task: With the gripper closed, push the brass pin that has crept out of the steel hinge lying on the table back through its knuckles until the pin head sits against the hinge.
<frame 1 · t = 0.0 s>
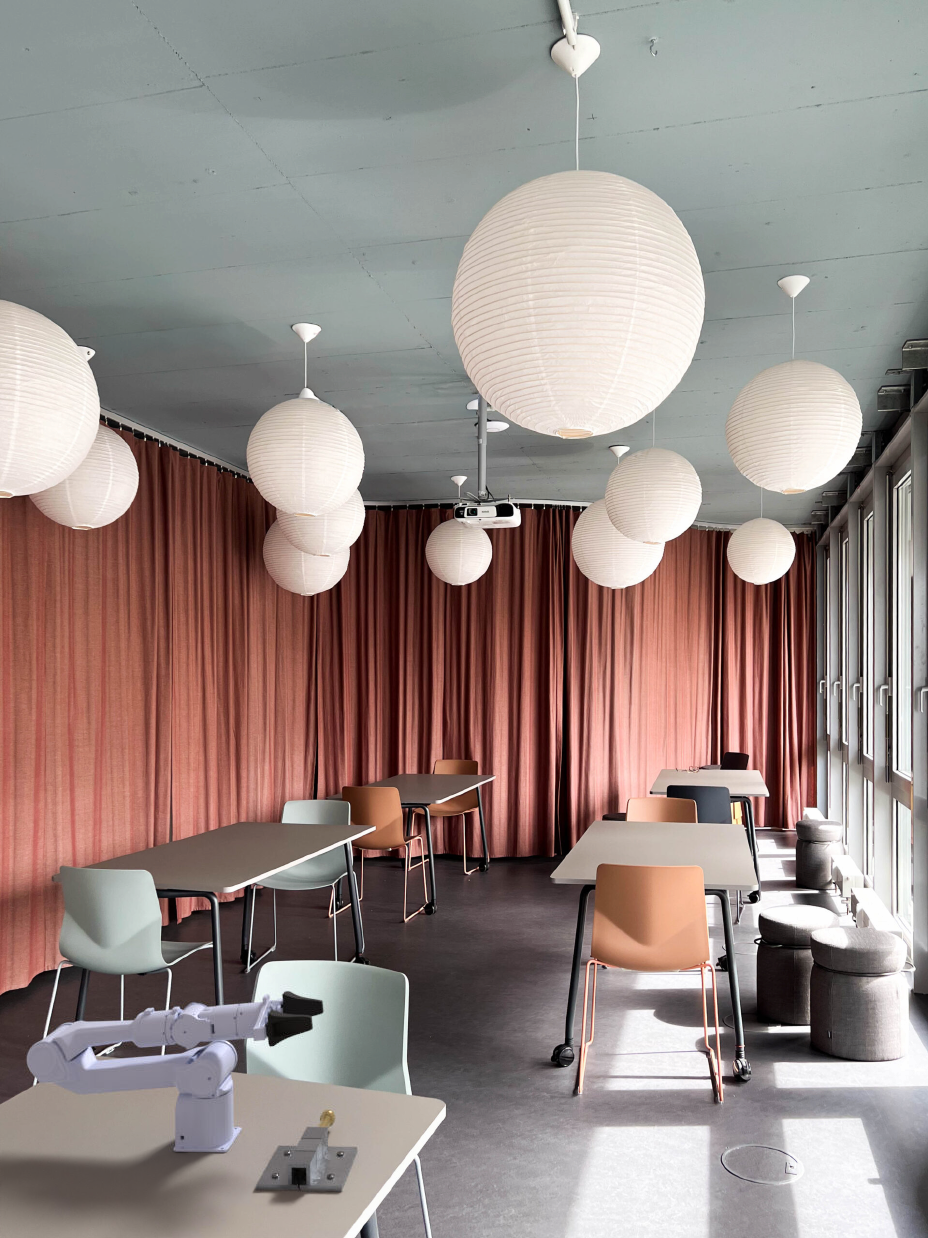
hand: (317, 1014, 160), 22 cm above the table, tool horizontal, fingers open, 7 cm apart
pin: (318, 1136, 157), point 2 cm above the table, slide at 6.0 cm
hinge: (308, 1170, 150), on the table
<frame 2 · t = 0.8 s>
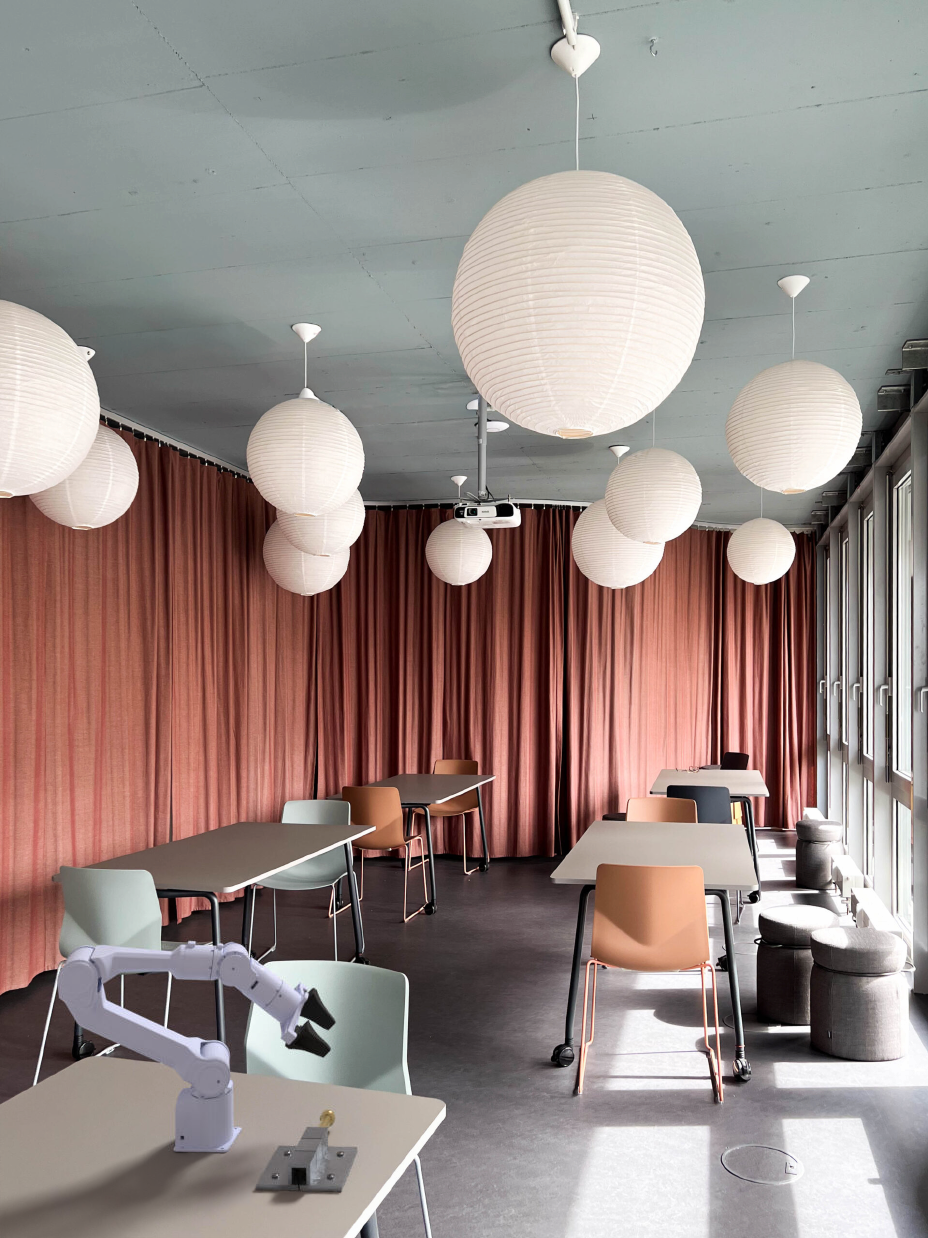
hand: (329, 1039, 167), 15 cm above the table, tool tilted 50°, fingers open, 7 cm apart
nothing on the table moved.
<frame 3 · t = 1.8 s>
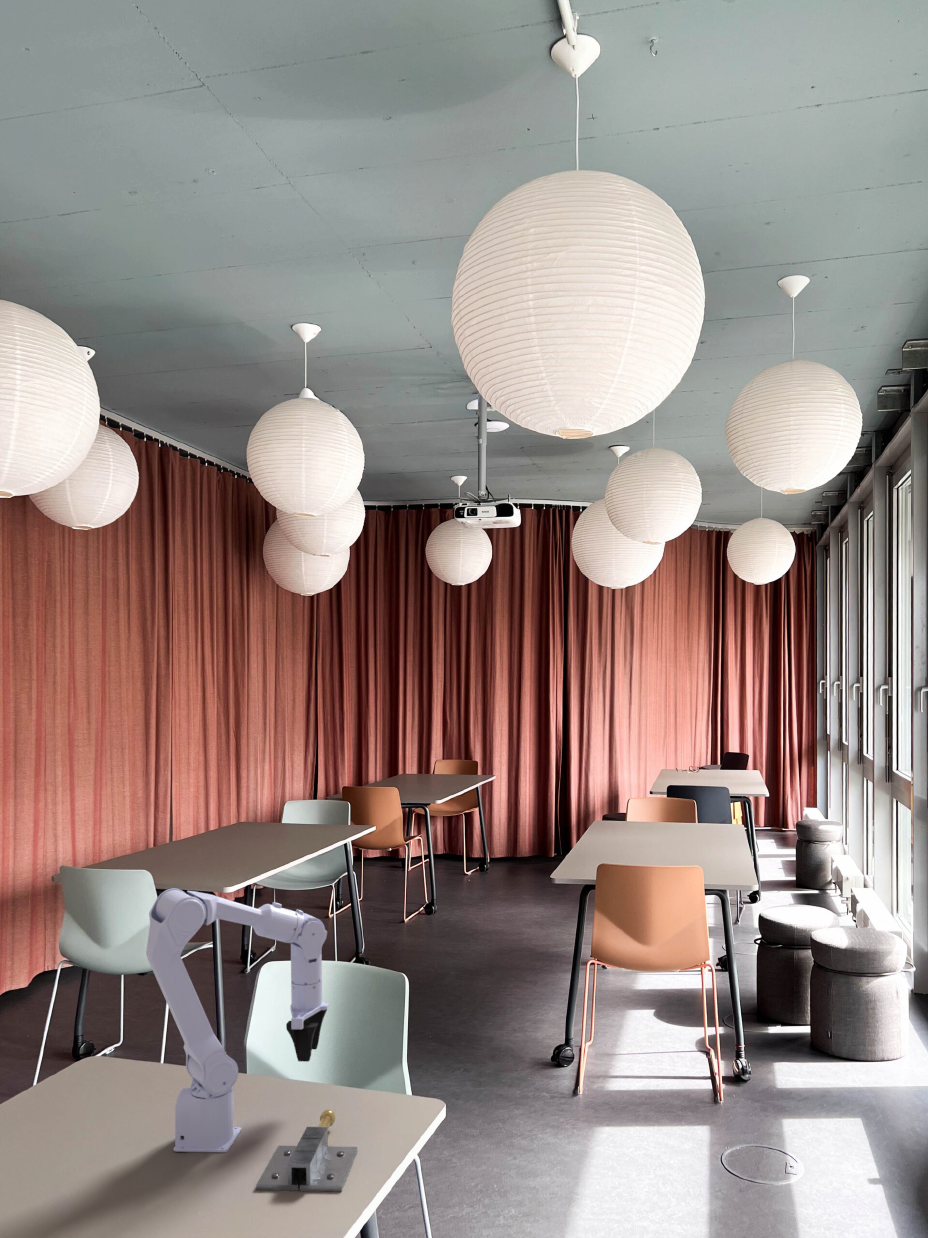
hand: (307, 1054, 172), 10 cm above the table, tool pointing down, fingers open, 5 cm apart
nothing on the table moved.
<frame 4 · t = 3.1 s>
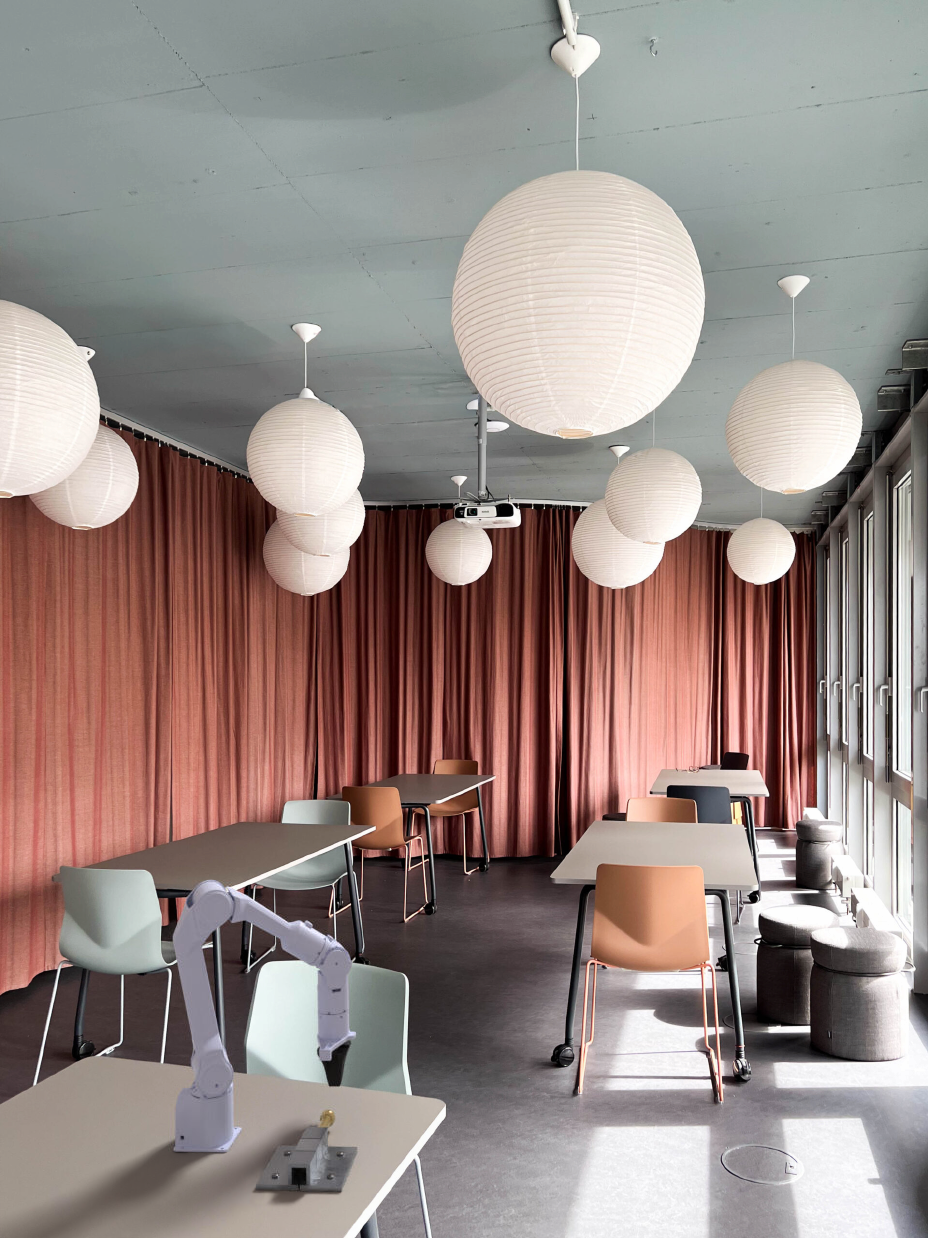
hand: (335, 1085, 169), 5 cm above the table, tool pointing down, fingers closed
nothing on the table moved.
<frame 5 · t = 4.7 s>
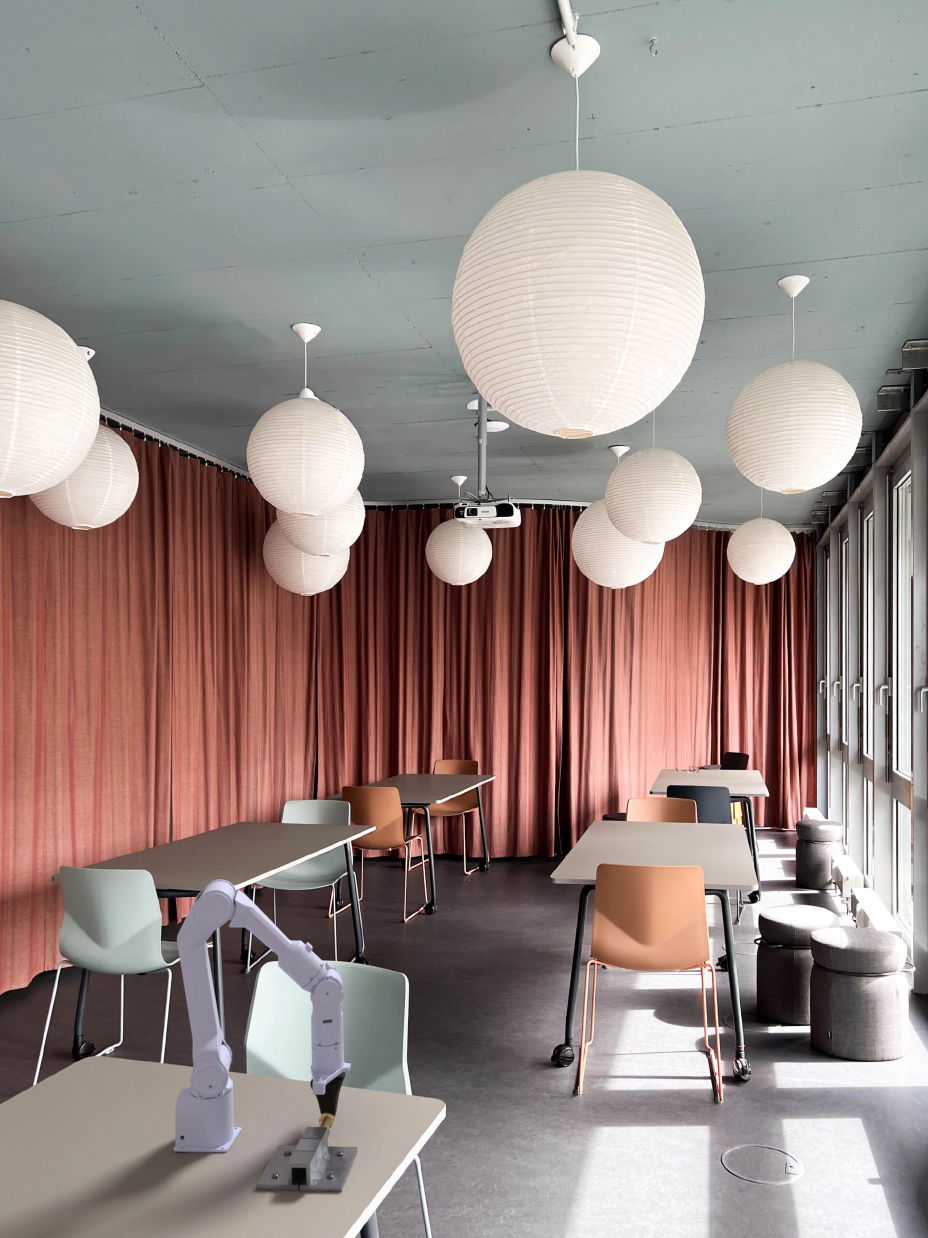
hand: (328, 1118, 164), 2 cm above the table, tool pointing down, fingers closed
pin: (317, 1138, 156), point 2 cm above the table, slide at 5.3 cm, touching gripper
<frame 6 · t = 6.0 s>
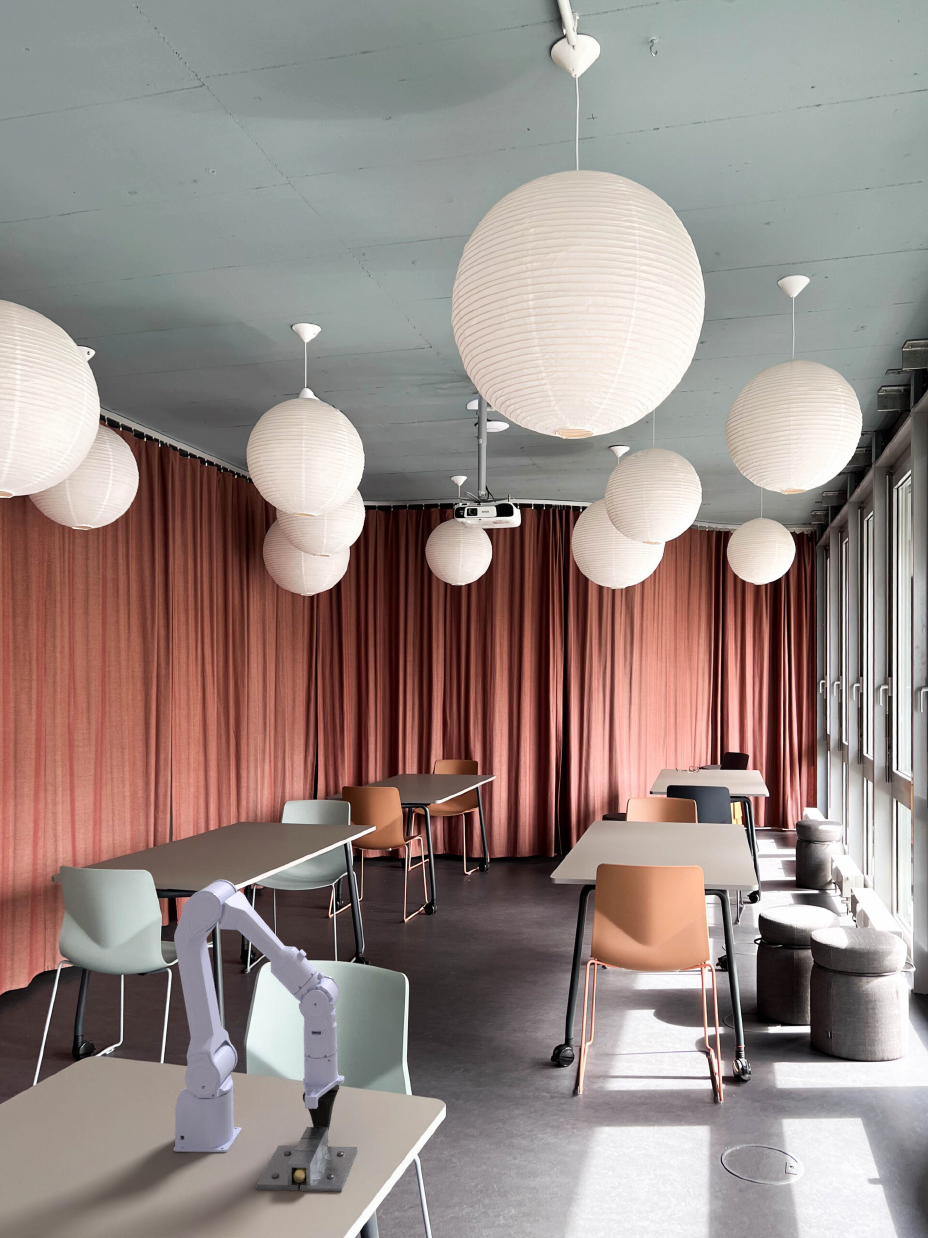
hand: (321, 1132, 159), 2 cm above the table, tool pointing down, fingers closed
pin: (310, 1154, 151), point 2 cm above the table, slide at 0.2 cm, touching gripper
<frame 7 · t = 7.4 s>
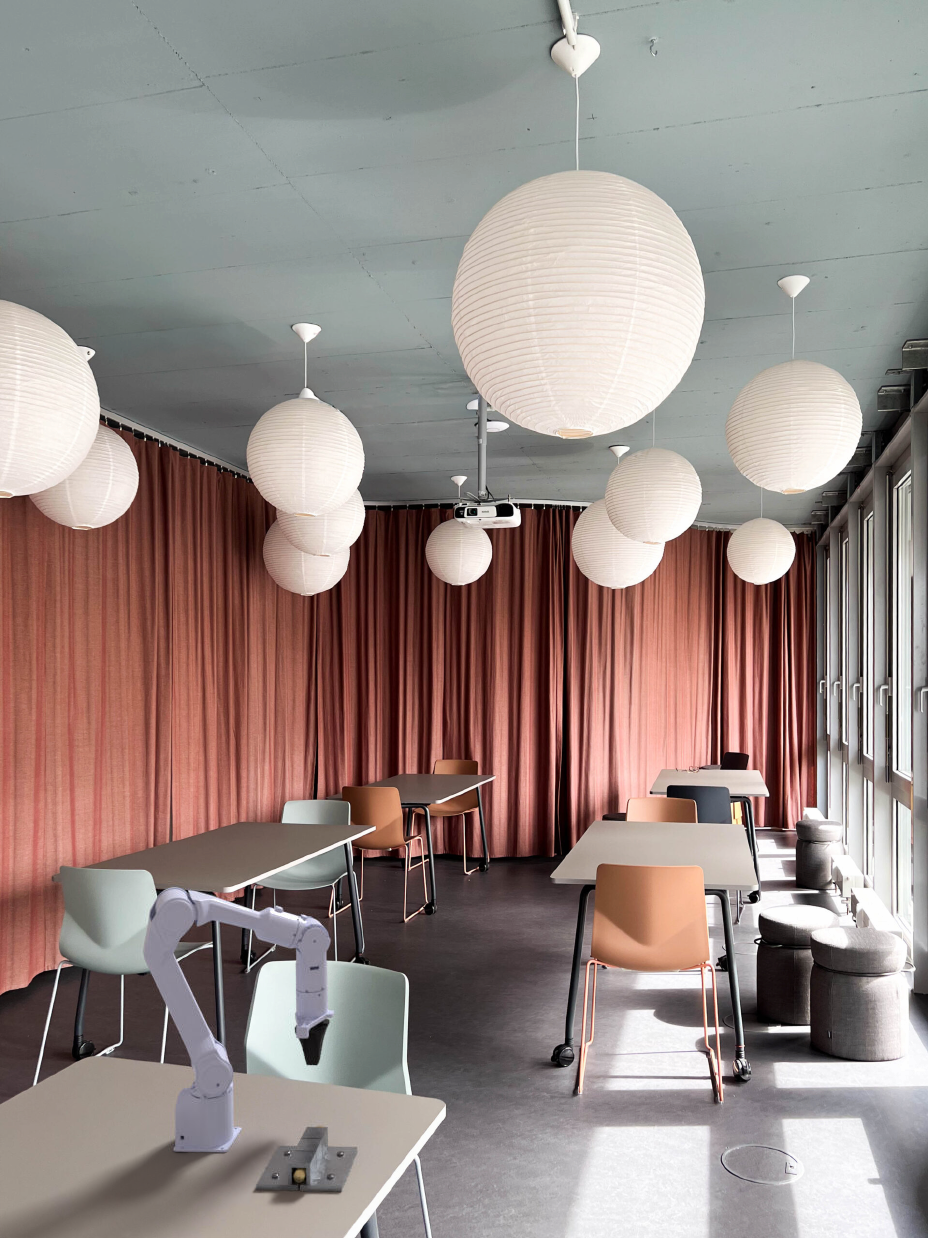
hand: (312, 1064, 168), 10 cm above the table, tool pointing down, fingers closed
pin: (310, 1154, 151), point 2 cm above the table, slide at 0.2 cm
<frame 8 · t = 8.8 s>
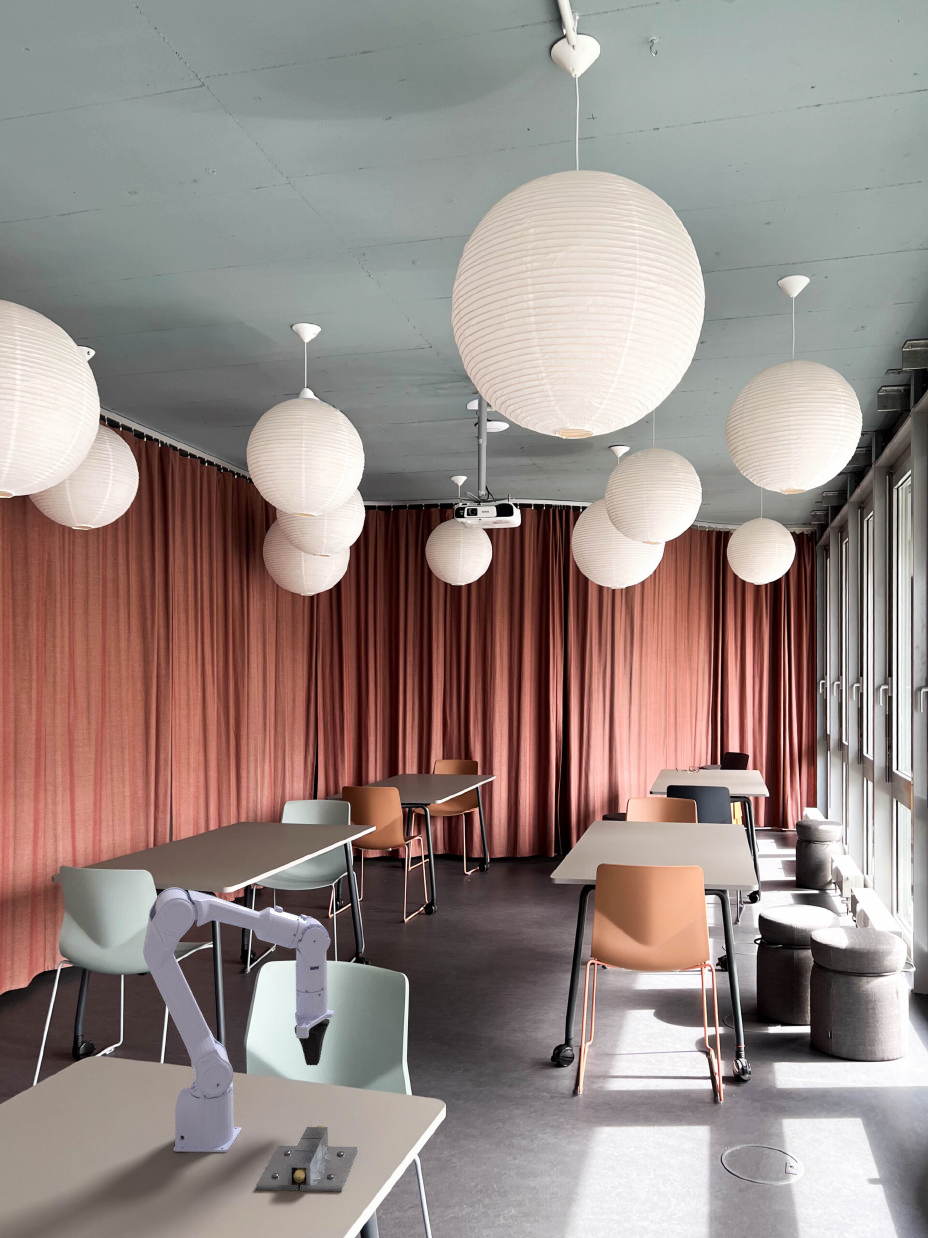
hand: (312, 1064, 168), 10 cm above the table, tool pointing down, fingers closed
nothing on the table moved.
at the end: pin slide at 0.2 cm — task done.
